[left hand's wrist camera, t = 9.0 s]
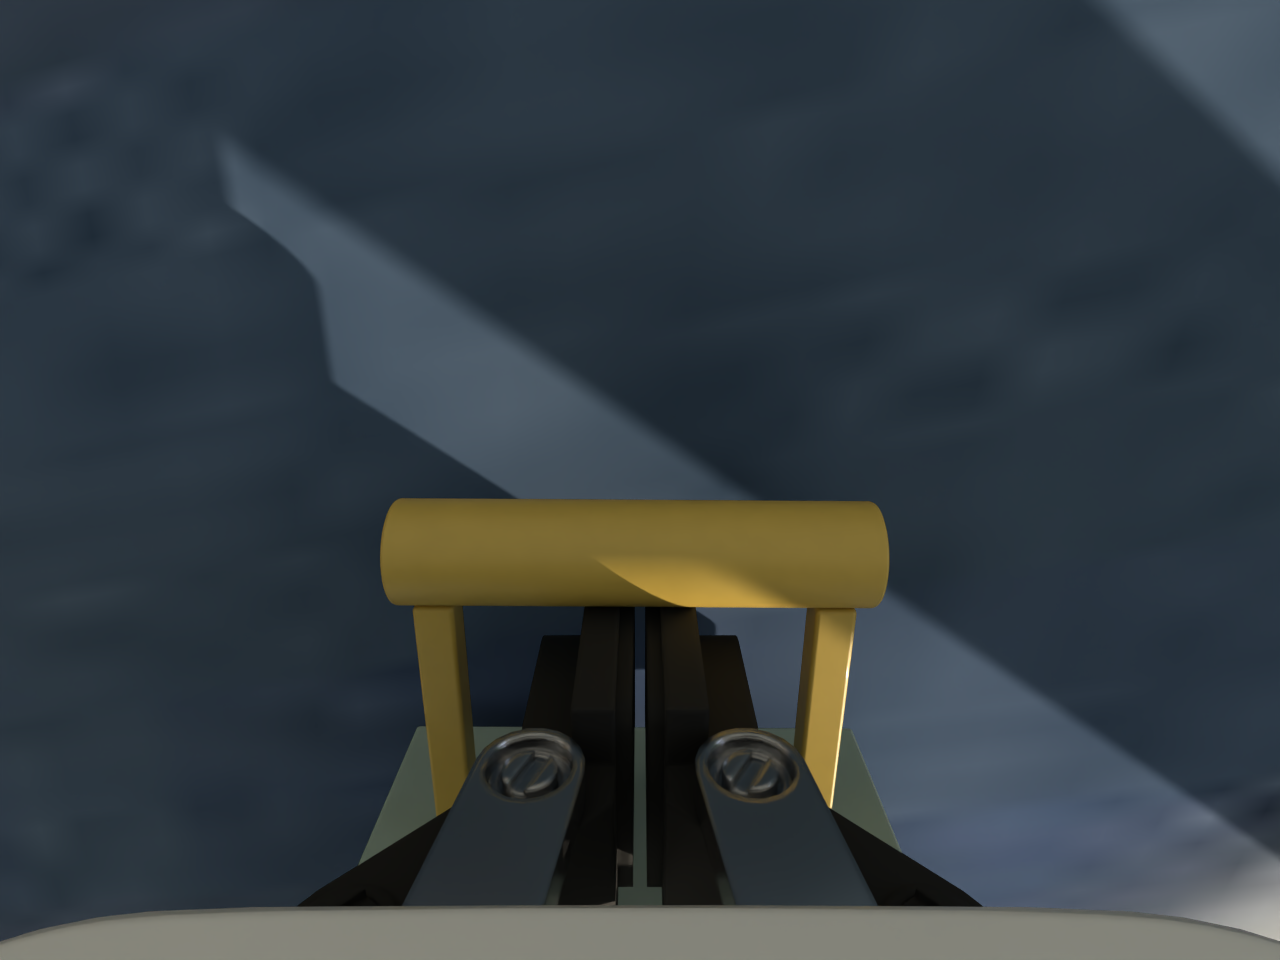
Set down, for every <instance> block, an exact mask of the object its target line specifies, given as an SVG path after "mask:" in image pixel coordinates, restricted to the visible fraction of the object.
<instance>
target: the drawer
mask: <svg viewBox="0 0 1280 960" xmlns="http://www.w3.org/2000/svg"><path fill="white" fill-rule="evenodd" d="M380 568H381V577H382V583H383V587H384V590H385V593H386V596H387V598H388V599H389V601H390V602H391V603H393V604H395V605H415V606H414V609H413V617H414V626H415V635H416V643H417V652H418V661H419V670H420V678H421V687H422V696H423V705H424V713H425V722H426V726H420V727H417V729H416V731H415V734H414V736H413V738H412V741H411V743H410V745H409V748H408V750H407V752H406V755H405V757H404V759H403V762H402V764H401V766H400V769H399V771H398V773H397V776H396V778H395V780H394V782H393V785H392V787H391V789H390V792H389V794H388V796H387V799H386V801H385V803H384V806H383V808H382V810H381V813H380V815H379V817H378V820H377V822H376V824H375V827H374V829H373V831H372V834H371V836H370V838H369V841H368V843H367V845H366V848H365V850H364V852H363V855H362V857H361V859H360V862H359V864H358V865H360V864H361V863H363V862H364V861H366V860H368V859H369V858H371V857H372V856H374V855H376V854H377V853H379V852H380V851H382V850H384V849H385V848H387V847H388V846H390V845H392V844H393V843H395V842H396V841H398V840H400V839H401V838H403V837H404V836H406V835H408V834H409V833H411V832H412V831H414V830H416V829H417V828H419V827H421V826H422V825H424V824H425V823H427V822H429V821H430V820H432V819H433V818H435V817H437V816H438V815H440V814H441V813H443V812H445V811H446V810H448V809H449V808H451V807H452V805H453V803H454V801H455V799H456V797H457V795H458V794H459V792H460V790H461V788H462V786H463V784H464V782H465V780H466V778H467V776H468V774H469V772H470V770H471V768H472V766H473V764H474V762H475V760H476V758H477V757H478V756H479V754H480V753H481V752H482V750H483V749H484V748H485V747H486V746H487V745H489V744H490V743H491V742H493V741H494V740H495V739H497V738H499V737H501V736H503V735H506V734H508V733H510V732H513V731H518V730H522V727H473V721H472V709H471V698H470V686H469V675H468V664H467V652H466V641H465V629H464V618H463V606H604V607H771V608H807V614H806V625H805V635H804V645H803V655H802V665H801V675H800V685H799V695H798V706H797V716H796V726H795V728H758V730H762V731H767V732H770V733H772V734H774V735H777V736H779V737H781V738H783V739H785V740H786V741H787V742H789V743H790V744H791V745H793V746H794V747H795V748H796V749H797V750H798V752H799V753H800V754H801V756H802V757H803V758H804V760H805V762H806V764H807V766H808V768H809V770H810V772H811V774H812V776H813V778H814V780H815V782H816V784H817V786H818V788H819V790H820V792H821V794H822V795H823V797H824V799H825V801H826V803H827V805H828V807H829V808H831V809H832V810H834V811H835V812H837V813H839V814H840V815H842V816H843V817H845V818H847V819H848V820H850V821H851V822H853V823H855V824H856V825H858V826H859V827H861V828H863V829H864V830H866V831H868V832H869V833H871V834H872V835H874V836H876V837H877V838H879V839H880V840H882V841H884V842H885V843H887V844H888V845H890V846H892V847H893V848H895V849H896V850H898V851H900V852H901V850H900V847H899V845H898V842H897V840H896V837H895V835H894V833H893V830H892V828H891V825H890V823H889V820H888V818H887V815H886V813H885V810H884V808H883V806H882V803H881V801H880V798H879V796H878V793H877V791H876V788H875V786H874V784H873V781H872V779H871V776H870V774H869V771H868V769H867V766H866V764H865V762H864V759H863V757H862V754H861V752H860V749H859V747H858V744H857V742H856V740H855V737H854V735H853V732H852V730H851V729H842V724H843V716H844V708H845V700H846V692H847V684H848V676H849V669H850V661H851V653H852V645H853V637H854V629H855V621H856V611H855V609H854V608H874V607H876V606H878V605H879V604H880V602H881V601H882V599H883V596H884V594H885V591H886V586H887V581H888V574H889V543H888V535H887V530H886V525H885V522H884V518H883V516H882V513H881V511H880V509H879V508H878V506H877V505H876V504H874V503H873V502H870V501H757V500H602V499H448V498H400V499H398V500H396V501H395V502H394V503H393V504H392V505H391V507H390V509H389V510H388V513H387V516H386V519H385V522H384V526H383V531H382V537H381V547H380ZM901 853H902V852H901ZM618 905H662V887H647V854H646V754H645V727H635V753H634V853H633V887H618Z"/></svg>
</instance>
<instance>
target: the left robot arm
mask: <svg viewBox="0 0 1280 960" xmlns="http://www.w3.org/2000/svg"><path fill="white" fill-rule="evenodd" d="M634 753H635V607H604V606H585V608H584V616H583V623H582V630H581V635H544V636H543V638H542V641H541V645H540V650H539V654H538V659H537V663H536V668H535V672H534V677H533V681H532V686H531V690H530V694H529V699H528V703H527V708H526V712H525V717H524V721H523V726H522V730H518V731H513V732H510V733H508V734H506V735H503V736H501V737H499V738H497V739H495V740H494V741H493V742H491V743H490V744H489V745H487V746H486V747H485V748H484V749H483V750H482V752H481V753H480V754H479V756H478V757H477V758H476V760H475V762H474V764H473V766H472V768H471V770H470V772H469V774H468V776H467V778H466V780H465V782H464V784H463V786H462V788H461V790H460V792H459V794H458V795H457V797H456V799H455V801H454V803H453V805H452V807H451V808H449V809H448V810H446V811H445V812H443V813H441V814H440V815H438V816H437V817H435V818H433V819H432V820H430V821H429V822H427V823H425V824H424V825H422V826H421V827H419V828H417V829H416V830H414V831H412V832H411V833H409V834H408V835H406V836H404V837H403V838H401V839H400V840H398V841H396V842H395V843H393V844H392V845H390V846H388V847H387V848H385V849H384V850H382V851H380V852H379V853H377V854H376V855H374V856H372V857H371V858H369V859H368V860H366V861H364V862H363V863H361V864H360V865H358V866H356V867H355V868H353V869H352V870H350V871H348V872H347V873H345V874H343V875H342V876H340V877H339V878H337V879H335V880H334V881H332V882H331V883H329V884H327V885H326V886H324V887H323V888H321V889H319V890H318V891H316V892H315V893H314V894H312V895H311V896H310V897H309V898H307V899H306V900H305V901H303V902H302V903H301V904H299V905H298V906H297V907H243V908H219V909H195V910H171V911H148V912H140V913H131V914H123V915H114V916H105V917H97V918H92V919H87V920H82V921H77V922H72V923H67V924H62V925H58V926H53V927H48V928H43V929H39V930H35V931H32V932H29V933H26V934H22V935H19V936H16V937H13V938H9V939H6V940H3V941H0V960H1280V941H1277V940H1274V939H1271V938H1267V937H1264V936H1261V935H1258V934H1254V933H1251V932H1248V931H1245V930H1241V929H1237V928H1232V927H1227V926H1222V925H1218V924H1213V923H1208V922H1203V921H1198V920H1193V919H1188V918H1183V917H1175V916H1166V915H1157V914H1149V913H1140V912H1132V911H1108V910H1083V909H1059V908H1037V907H983V906H982V905H981V904H979V903H978V902H977V901H975V900H974V899H973V898H971V897H970V896H969V895H968V894H966V893H965V892H964V891H962V890H961V889H959V888H957V887H956V886H954V885H953V884H951V883H949V882H948V881H946V880H945V879H943V878H941V877H940V876H938V875H937V874H935V873H933V872H932V871H930V870H928V869H927V868H925V867H924V866H922V865H920V864H919V863H917V862H916V861H914V860H912V859H911V858H909V857H908V856H906V855H904V854H903V853H901V852H900V851H898V850H896V849H895V848H893V847H892V846H890V845H888V844H887V843H885V842H884V841H882V840H880V839H879V838H877V837H876V836H874V835H872V834H871V833H869V832H868V831H866V830H864V829H863V828H861V827H859V826H858V825H856V824H855V823H853V822H851V821H850V820H848V819H847V818H845V817H843V816H842V815H840V814H839V813H837V812H835V811H834V810H832V809H831V808H829V807H828V805H827V803H826V801H825V799H824V797H823V795H822V794H821V792H820V790H819V788H818V786H817V784H816V782H815V780H814V778H813V776H812V774H811V772H810V770H809V768H808V766H807V764H806V762H805V760H804V758H803V757H802V756H801V754H800V753H799V752H798V750H797V749H796V748H795V747H794V746H793V745H791V744H790V743H789V742H787V741H786V740H785V739H783V738H781V737H779V736H777V735H774V734H772V733H770V732H767V731H762V730H758V726H757V721H756V717H755V712H754V708H753V703H752V699H751V694H750V690H749V686H748V681H747V677H746V672H745V668H744V663H743V659H742V654H741V650H740V646H739V641H738V638H737V636H736V635H699V630H698V623H697V616H696V608H695V607H645V754H646V854H647V887H662V905H618V887H633V853H634Z"/></svg>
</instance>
